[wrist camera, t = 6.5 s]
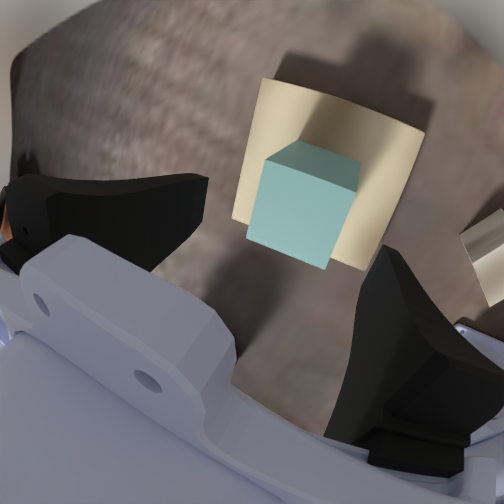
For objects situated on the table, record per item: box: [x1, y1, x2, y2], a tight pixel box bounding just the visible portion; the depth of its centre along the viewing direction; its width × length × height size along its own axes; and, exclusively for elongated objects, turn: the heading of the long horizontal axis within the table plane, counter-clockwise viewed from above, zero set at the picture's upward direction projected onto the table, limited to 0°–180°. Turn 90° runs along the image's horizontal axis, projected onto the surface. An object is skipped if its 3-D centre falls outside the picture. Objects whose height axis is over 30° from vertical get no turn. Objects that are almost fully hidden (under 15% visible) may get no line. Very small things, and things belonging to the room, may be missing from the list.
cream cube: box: [459, 208, 504, 307], centre depth 15 cm, size 4×4×4 cm
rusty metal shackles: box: [0, 186, 13, 241], centre depth 33 cm, size 12×10×8 cm
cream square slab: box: [232, 78, 425, 271], centre depth 19 cm, size 10×10×2 cm
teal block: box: [246, 140, 361, 270], centre depth 15 cm, size 4×4×6 cm
